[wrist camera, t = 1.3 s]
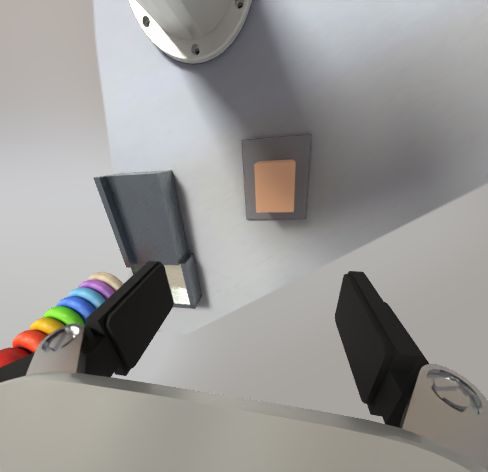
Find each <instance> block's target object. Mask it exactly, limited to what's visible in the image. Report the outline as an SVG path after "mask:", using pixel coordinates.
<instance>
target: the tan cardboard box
mask: <svg viewBox="0 0 488 472" xmlns="http://www.w3.org/2000/svg"><path fill="white" fill-rule="evenodd" d="M295 167H296V162H295V161H294V160H293V159H289V160H273V161H259V162H257V163H255V164H254V171H255V195H256V213H261V212H294V191H295Z"/></svg>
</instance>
